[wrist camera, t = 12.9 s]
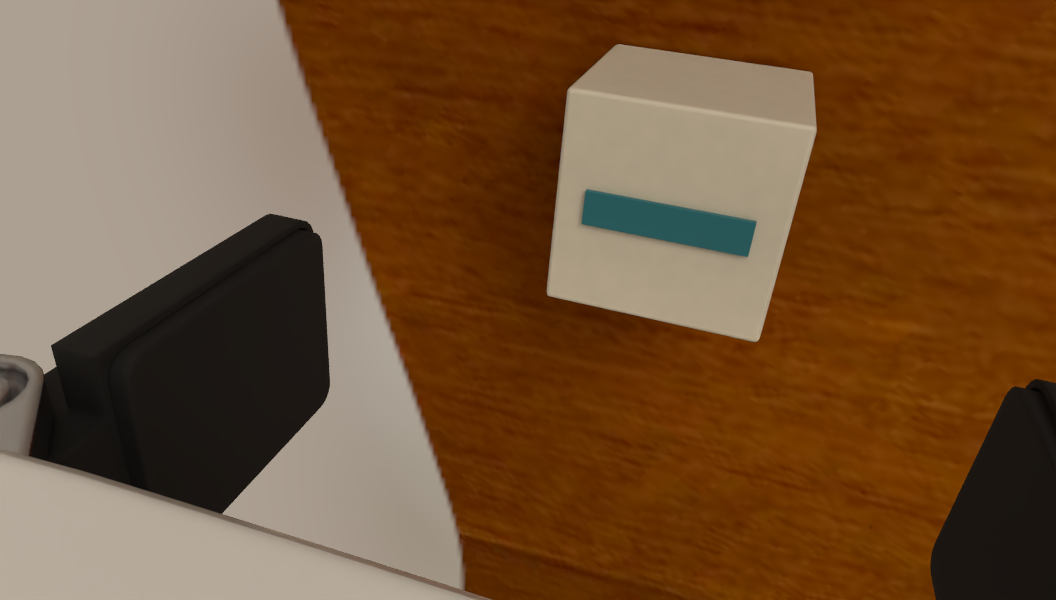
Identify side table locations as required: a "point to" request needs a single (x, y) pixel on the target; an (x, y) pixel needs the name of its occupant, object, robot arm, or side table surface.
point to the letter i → (679, 187)
